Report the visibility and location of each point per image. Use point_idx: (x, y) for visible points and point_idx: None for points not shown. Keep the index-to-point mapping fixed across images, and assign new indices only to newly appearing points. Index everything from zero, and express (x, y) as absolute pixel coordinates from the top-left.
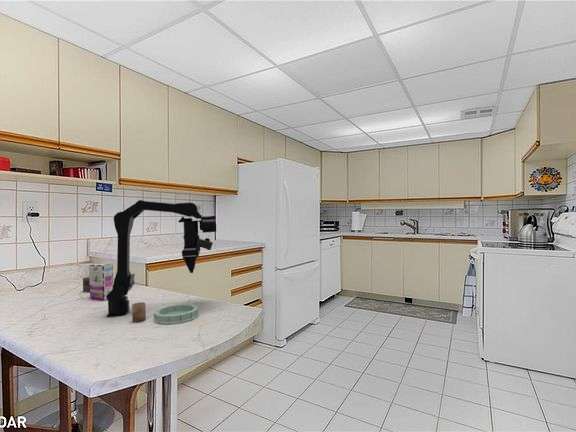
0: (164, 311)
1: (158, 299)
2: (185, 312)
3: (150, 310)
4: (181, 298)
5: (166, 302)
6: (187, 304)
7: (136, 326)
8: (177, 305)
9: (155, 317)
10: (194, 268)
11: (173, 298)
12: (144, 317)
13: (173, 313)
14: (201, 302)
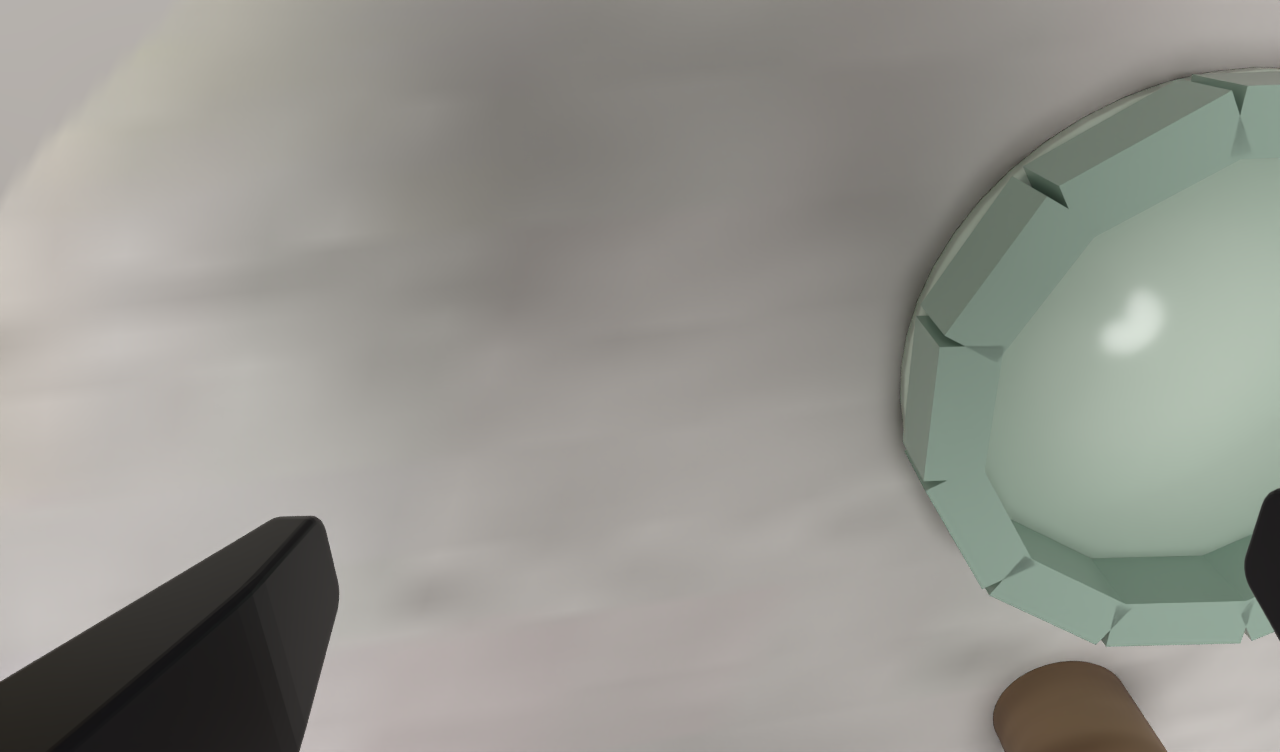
0: (1036, 543)
1: None
2: (1119, 272)
3: (685, 685)
4: (123, 425)
5: None
6: (998, 284)
7: (1262, 695)
8: (984, 427)
9: None
10: (284, 524)
11: (113, 531)
12: (1115, 694)
13: (1076, 424)
14: (452, 71)
